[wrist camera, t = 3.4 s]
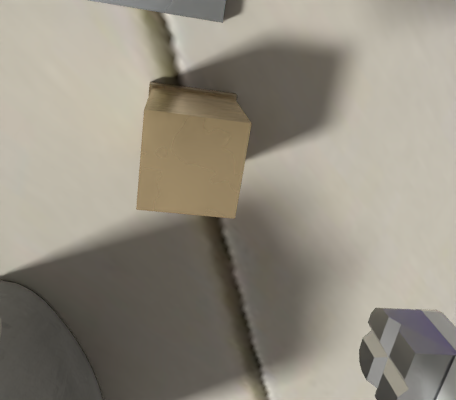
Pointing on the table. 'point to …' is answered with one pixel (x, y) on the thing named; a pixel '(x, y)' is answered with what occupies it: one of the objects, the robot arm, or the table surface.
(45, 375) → the flask
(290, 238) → the table surface
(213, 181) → the tan wooden block
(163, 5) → the gray slotted base plate
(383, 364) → the robot arm
